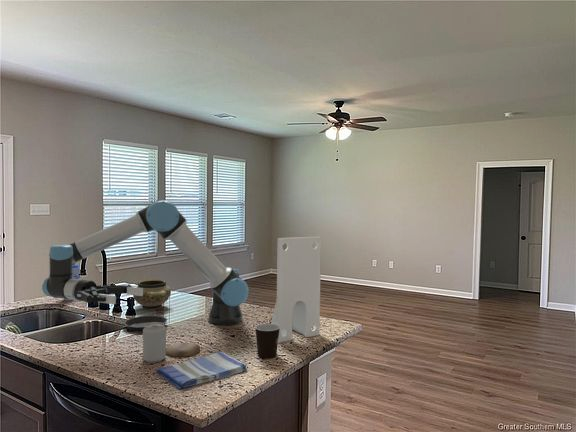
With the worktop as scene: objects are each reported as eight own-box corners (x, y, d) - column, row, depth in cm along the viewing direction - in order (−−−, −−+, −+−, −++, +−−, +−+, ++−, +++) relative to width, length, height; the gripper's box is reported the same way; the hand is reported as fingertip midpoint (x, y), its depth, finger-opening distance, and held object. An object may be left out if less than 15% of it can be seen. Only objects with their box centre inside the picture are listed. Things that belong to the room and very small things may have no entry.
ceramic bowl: (133, 309, 218) (125, 281, 216) (166, 297, 227) (159, 270, 224) (144, 321, 197) (135, 291, 195) (180, 307, 206) (172, 278, 204)
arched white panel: (299, 325, 184) (301, 234, 183) (319, 334, 172) (321, 236, 171) (259, 332, 173) (260, 235, 172) (277, 342, 161) (278, 238, 160)
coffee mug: (270, 361, 142) (270, 332, 142) (249, 356, 146) (250, 328, 146) (288, 351, 152) (289, 324, 151) (268, 347, 156) (269, 320, 156)
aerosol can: (70, 296, 231) (70, 260, 231) (83, 297, 230) (83, 261, 230) (60, 300, 223) (60, 262, 223) (74, 300, 223) (74, 263, 222)
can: (144, 365, 138) (144, 328, 137) (141, 357, 144) (141, 322, 144) (168, 361, 141) (168, 325, 141) (163, 354, 148) (163, 320, 147)
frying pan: (165, 319, 191) (165, 311, 191) (175, 341, 161) (175, 331, 161) (122, 323, 184) (122, 315, 184) (125, 347, 154) (125, 337, 154)
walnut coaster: (199, 344, 158) (199, 341, 158) (201, 355, 147) (201, 352, 147) (165, 346, 155) (165, 343, 155) (165, 358, 144) (165, 355, 144)
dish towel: (249, 372, 135) (249, 363, 134) (180, 393, 119) (180, 383, 119) (220, 356, 148) (220, 348, 148) (155, 373, 132) (155, 364, 132)
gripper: (106, 293, 164) (152, 299, 157) (51, 308, 141) (101, 315, 133) (107, 274, 164) (152, 279, 157) (51, 285, 140) (102, 291, 133)
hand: (129, 295), depth 145 cm, fingers open, 13 cm apart
